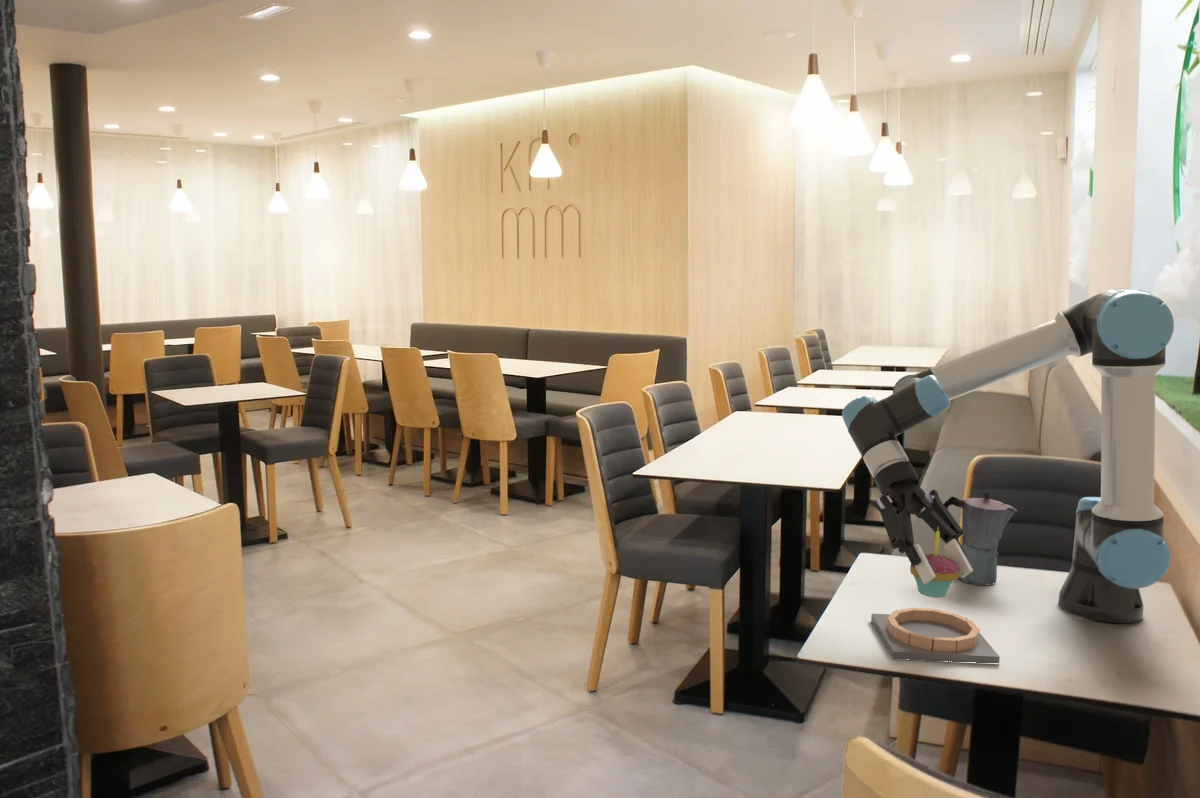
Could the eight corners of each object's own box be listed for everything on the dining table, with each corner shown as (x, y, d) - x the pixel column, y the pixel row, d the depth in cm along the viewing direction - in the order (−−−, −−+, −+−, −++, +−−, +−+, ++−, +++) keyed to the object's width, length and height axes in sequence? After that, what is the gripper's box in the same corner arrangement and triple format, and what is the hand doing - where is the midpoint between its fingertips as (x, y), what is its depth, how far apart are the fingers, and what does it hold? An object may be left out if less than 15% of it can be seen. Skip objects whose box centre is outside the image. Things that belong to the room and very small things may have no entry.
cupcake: (908, 582, 177) (913, 520, 175) (956, 588, 175) (962, 526, 173) (908, 598, 169) (913, 533, 167) (958, 604, 167) (964, 538, 165)
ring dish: (966, 625, 181) (967, 608, 181) (998, 664, 164) (1000, 645, 163) (871, 620, 183) (872, 603, 182) (893, 659, 165) (894, 640, 164)
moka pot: (1015, 589, 202) (1023, 498, 199) (939, 583, 205) (946, 493, 202) (1005, 575, 211) (1013, 488, 209) (933, 569, 214) (940, 483, 212)
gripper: (921, 476, 188) (978, 579, 176) (837, 484, 178) (891, 594, 166) (943, 455, 182) (1004, 560, 170) (858, 463, 173) (916, 574, 161)
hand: (948, 577), depth 168 cm, fingers closed on cupcake, 8 cm apart
